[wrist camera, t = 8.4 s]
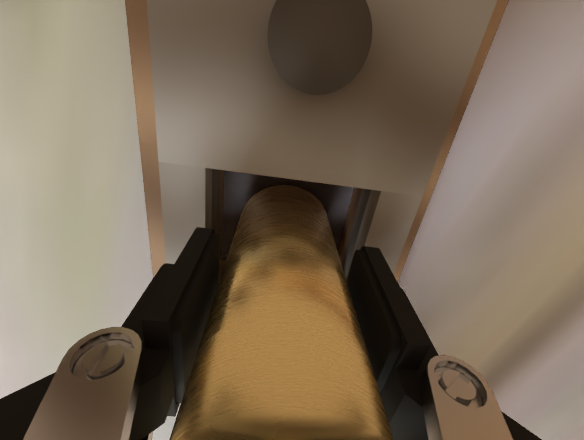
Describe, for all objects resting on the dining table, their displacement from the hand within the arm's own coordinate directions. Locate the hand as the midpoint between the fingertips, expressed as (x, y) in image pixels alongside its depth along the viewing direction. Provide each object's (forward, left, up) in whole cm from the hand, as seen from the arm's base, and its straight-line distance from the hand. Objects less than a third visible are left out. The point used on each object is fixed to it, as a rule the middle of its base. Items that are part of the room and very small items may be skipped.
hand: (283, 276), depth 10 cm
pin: (0, 0, -3) cm, 3 cm away
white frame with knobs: (0, 0, -5) cm, 5 cm away
